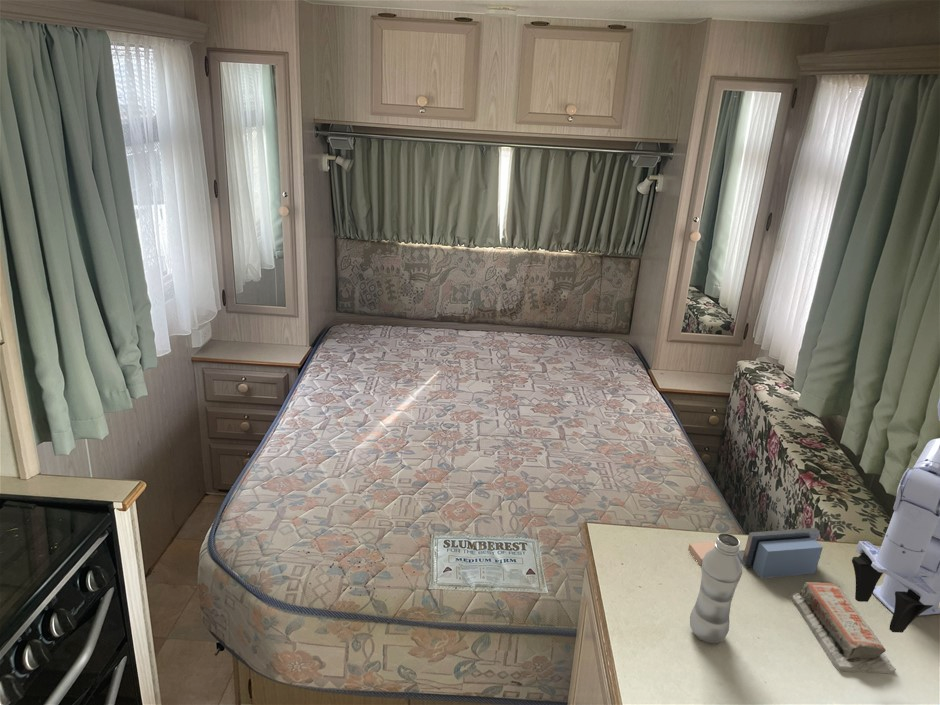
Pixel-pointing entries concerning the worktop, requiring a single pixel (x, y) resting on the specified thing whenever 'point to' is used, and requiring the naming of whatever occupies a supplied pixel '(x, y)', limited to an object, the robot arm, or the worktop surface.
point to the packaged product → (841, 629)
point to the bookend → (755, 537)
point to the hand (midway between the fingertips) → (878, 615)
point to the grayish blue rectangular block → (787, 557)
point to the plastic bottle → (717, 589)
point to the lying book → (700, 550)
